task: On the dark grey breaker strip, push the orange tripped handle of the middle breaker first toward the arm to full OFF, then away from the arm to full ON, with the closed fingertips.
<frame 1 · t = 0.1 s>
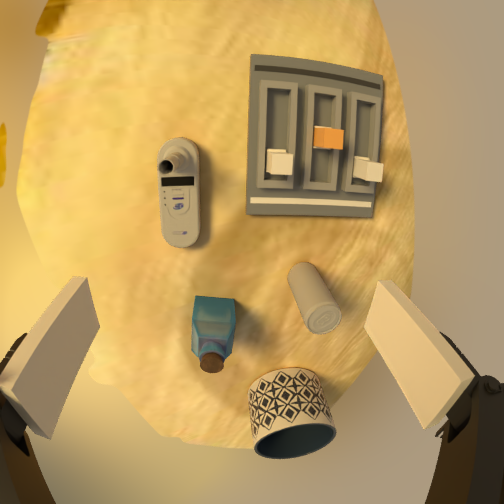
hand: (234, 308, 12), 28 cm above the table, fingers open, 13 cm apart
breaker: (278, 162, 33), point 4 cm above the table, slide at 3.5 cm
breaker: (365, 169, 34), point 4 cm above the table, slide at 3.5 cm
planter: (283, 388, 56), on the table
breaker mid: (326, 138, 32), point 4 cm above the table, slide at 0.0 cm
panel: (317, 137, 35), on the table
perfume bottle: (213, 312, 45), on the table
electronic device: (181, 191, 37), on the table
beverage can: (301, 273, 44), on the table
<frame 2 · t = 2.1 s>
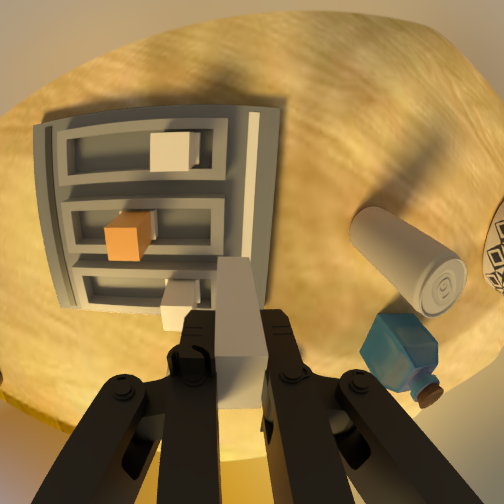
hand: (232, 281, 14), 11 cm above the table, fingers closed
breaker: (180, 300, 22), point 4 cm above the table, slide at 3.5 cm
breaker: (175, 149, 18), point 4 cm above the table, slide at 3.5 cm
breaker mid: (132, 232, 20), point 4 cm above the table, slide at 0.0 cm
panel: (144, 217, 23), on the table
perfume bottle: (386, 332, 32), on the table
beverage can: (367, 227, 26), on the table
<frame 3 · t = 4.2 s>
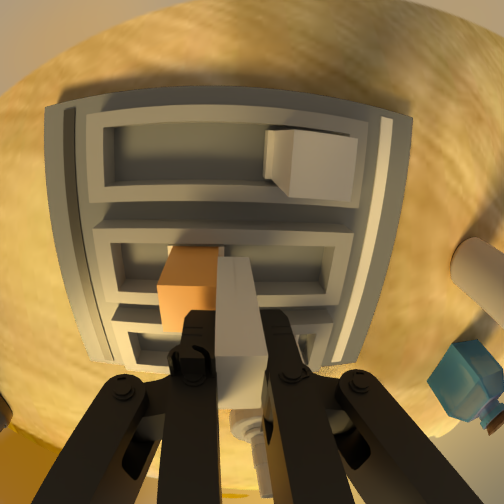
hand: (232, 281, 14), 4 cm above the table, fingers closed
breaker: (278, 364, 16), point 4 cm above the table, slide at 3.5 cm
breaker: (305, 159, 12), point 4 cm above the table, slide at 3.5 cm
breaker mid: (193, 280, 13), point 4 cm above the table, slide at -1.4 cm, touching gripper
panel: (221, 250, 17), on the table
perfume bottle: (452, 359, 26), on the table
electronic device: (301, 406, 25), on the table
beverage can: (463, 258, 20), on the table
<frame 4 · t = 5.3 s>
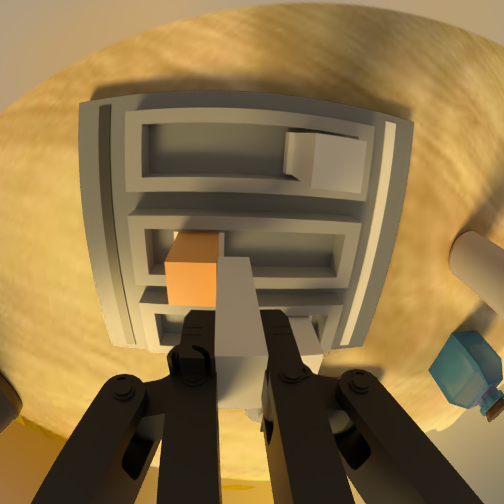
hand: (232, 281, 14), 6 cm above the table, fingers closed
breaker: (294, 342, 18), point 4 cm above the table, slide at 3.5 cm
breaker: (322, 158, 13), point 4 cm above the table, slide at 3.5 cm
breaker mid: (196, 262, 15), point 4 cm above the table, slide at -2.8 cm
panel: (243, 238, 19), on the table
perfume bottle: (452, 349, 28), on the table
beverage can: (461, 251, 21), on the table
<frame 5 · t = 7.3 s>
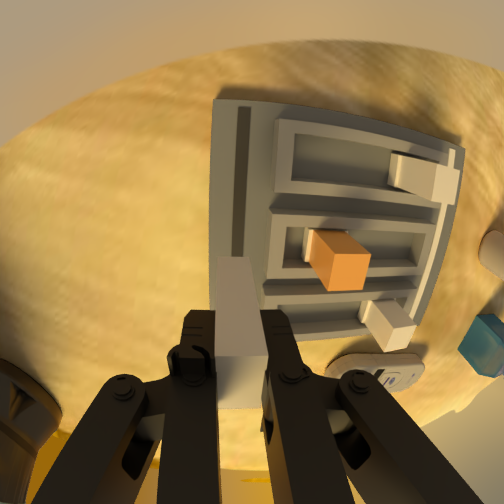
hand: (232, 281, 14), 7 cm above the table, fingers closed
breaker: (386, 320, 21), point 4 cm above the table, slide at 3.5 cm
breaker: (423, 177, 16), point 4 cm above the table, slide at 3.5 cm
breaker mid: (334, 255, 18), point 4 cm above the table, slide at -2.8 cm
panel: (348, 236, 22), on the table
perfume bottle: (475, 330, 31), on the table
electronic device: (374, 366, 30), on the table
beverage can: (486, 246, 25), on the table
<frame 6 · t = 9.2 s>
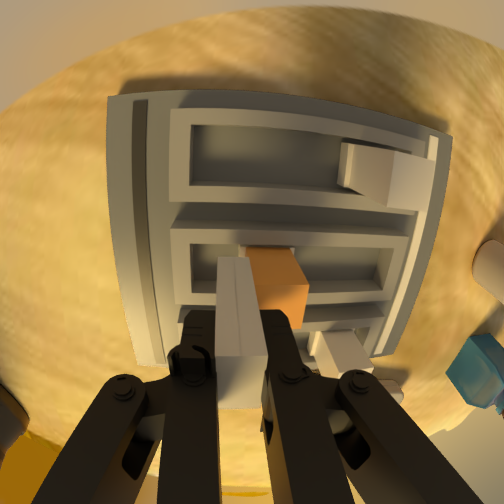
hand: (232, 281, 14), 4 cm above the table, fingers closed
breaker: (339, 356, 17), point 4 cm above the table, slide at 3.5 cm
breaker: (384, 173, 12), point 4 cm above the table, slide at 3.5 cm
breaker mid: (270, 280, 14), point 4 cm above the table, slide at -1.8 cm, touching gripper
panel: (289, 251, 18), on the table
perfume bottle: (468, 352, 27), on the table
electronic device: (344, 391, 26), on the table
beverage can: (482, 258, 21), on the table
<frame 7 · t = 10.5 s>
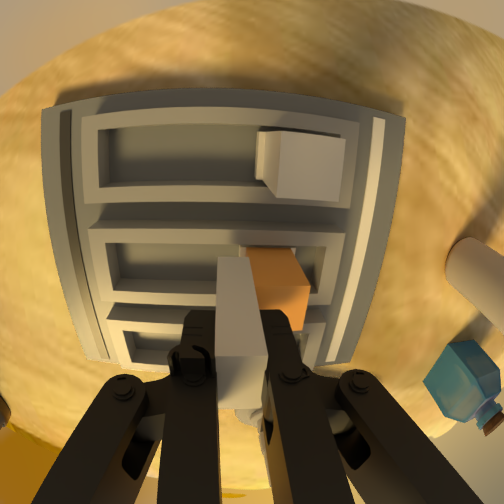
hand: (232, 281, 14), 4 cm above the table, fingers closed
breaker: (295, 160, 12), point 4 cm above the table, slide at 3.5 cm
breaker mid: (270, 281, 14), point 4 cm above the table, slide at 2.9 cm, touching gripper
panel: (215, 250, 17), on the table
perfume bottle: (448, 359, 26), on the table
electronic device: (305, 395, 25), on the table
beverage can: (458, 258, 20), on the table
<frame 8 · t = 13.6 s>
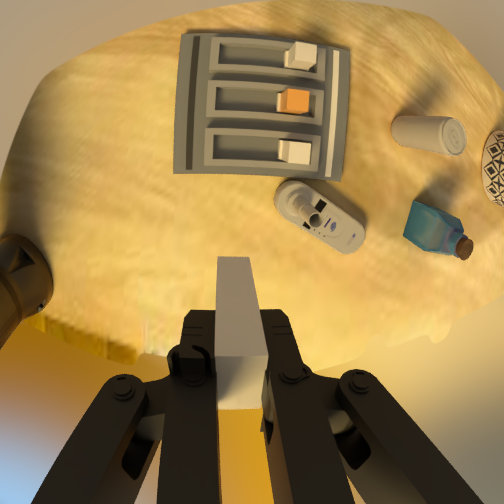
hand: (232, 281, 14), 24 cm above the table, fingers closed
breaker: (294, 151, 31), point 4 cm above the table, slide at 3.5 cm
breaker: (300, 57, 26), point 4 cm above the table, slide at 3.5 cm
planter: (498, 166, 38), on the table
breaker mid: (292, 102, 29), point 4 cm above the table, slide at 2.9 cm
panel: (263, 103, 32), on the table
perfume bottle: (419, 221, 41), on the table
electronic device: (318, 215, 39), on the table
beverage can: (400, 130, 34), on the table
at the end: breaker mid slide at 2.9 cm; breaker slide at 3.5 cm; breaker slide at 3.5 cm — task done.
